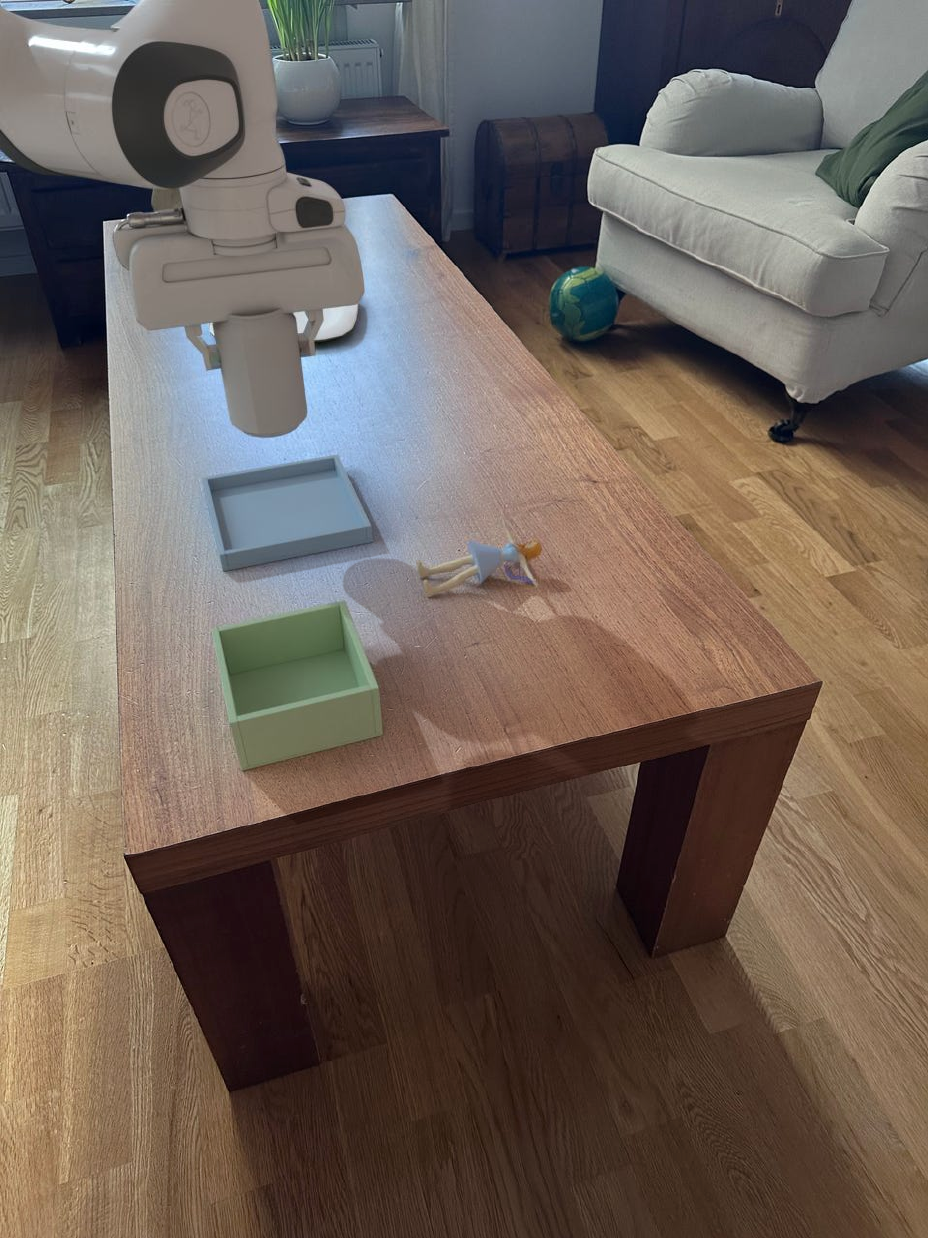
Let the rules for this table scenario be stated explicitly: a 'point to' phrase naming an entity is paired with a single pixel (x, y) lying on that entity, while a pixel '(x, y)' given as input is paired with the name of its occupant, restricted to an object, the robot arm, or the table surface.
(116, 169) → the robot arm
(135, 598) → the table surface
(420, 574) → the fairy figurine
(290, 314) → the can
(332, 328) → the plate
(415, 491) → the table surface
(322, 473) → the tray
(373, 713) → the bin
